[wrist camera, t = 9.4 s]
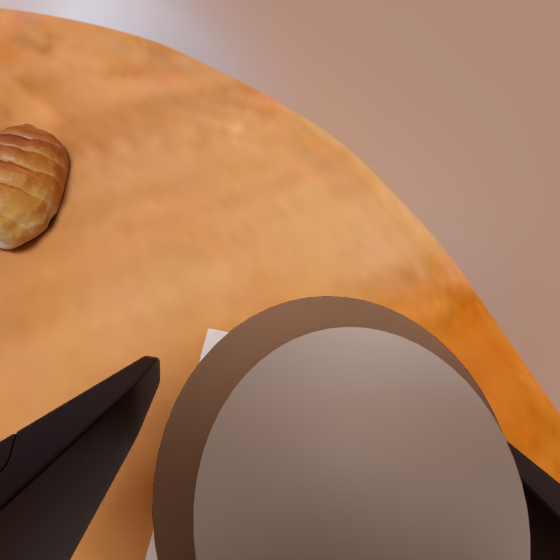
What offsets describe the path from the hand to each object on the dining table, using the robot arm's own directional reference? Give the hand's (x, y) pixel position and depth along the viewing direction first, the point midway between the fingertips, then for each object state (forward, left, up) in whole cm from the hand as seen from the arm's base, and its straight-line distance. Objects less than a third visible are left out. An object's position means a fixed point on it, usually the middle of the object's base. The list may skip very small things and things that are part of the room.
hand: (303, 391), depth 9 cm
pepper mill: (-1, 0, -8) cm, 9 cm away
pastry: (+9, +21, -10) cm, 25 cm away
